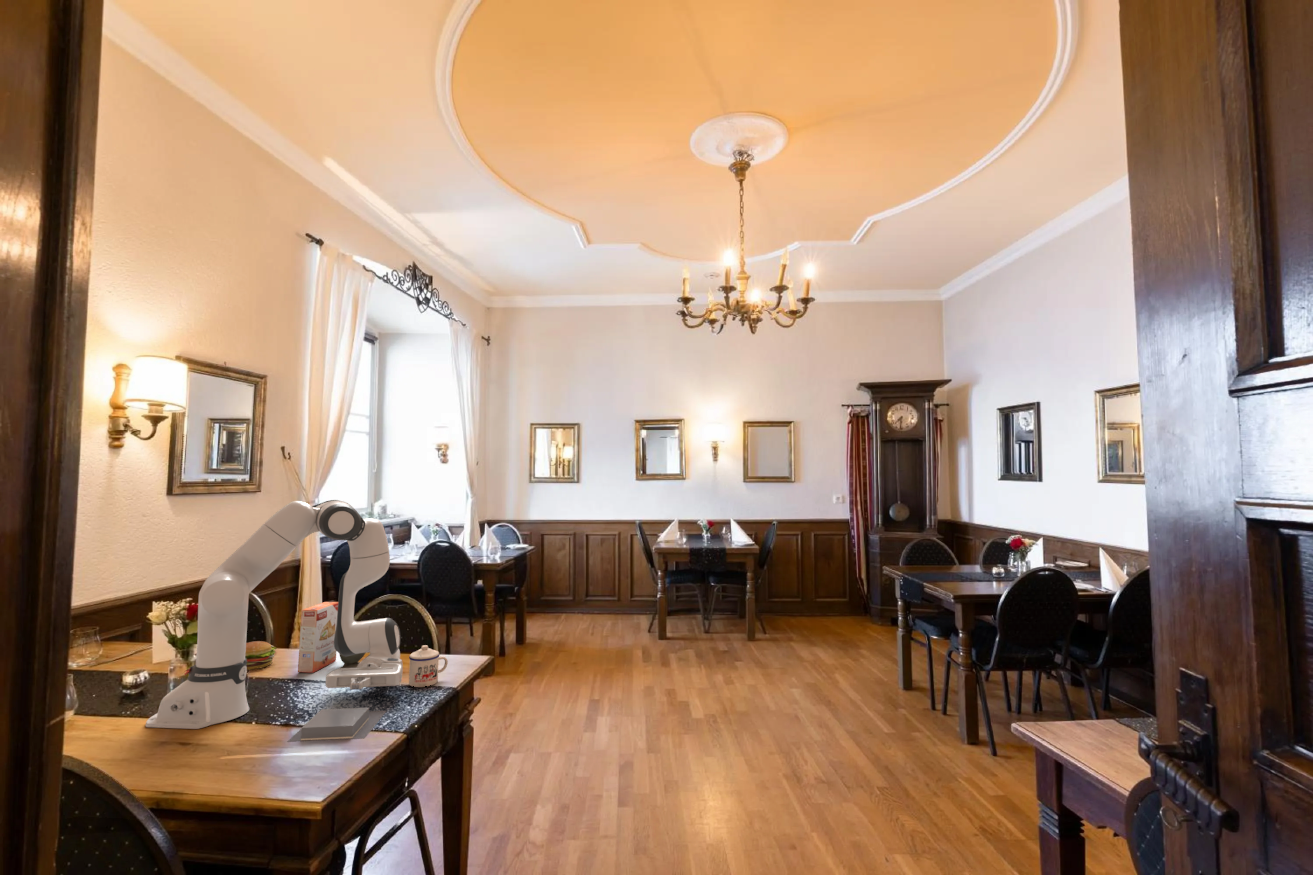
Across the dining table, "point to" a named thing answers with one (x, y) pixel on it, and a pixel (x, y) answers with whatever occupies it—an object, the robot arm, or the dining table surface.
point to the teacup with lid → (424, 667)
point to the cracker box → (317, 637)
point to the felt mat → (361, 734)
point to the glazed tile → (335, 724)
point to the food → (259, 654)
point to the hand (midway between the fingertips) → (355, 686)
